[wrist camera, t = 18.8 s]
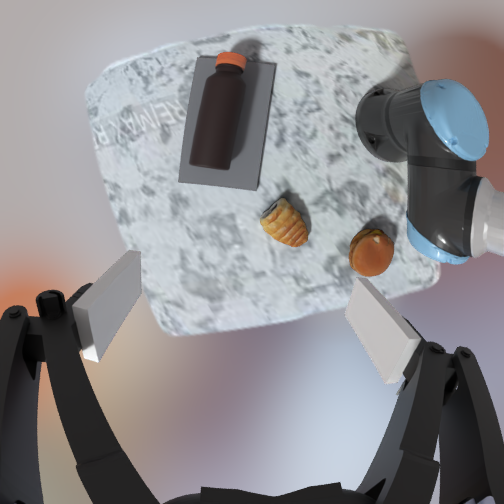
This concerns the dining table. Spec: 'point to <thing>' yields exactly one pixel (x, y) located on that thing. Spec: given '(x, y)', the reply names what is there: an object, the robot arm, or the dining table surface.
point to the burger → (371, 252)
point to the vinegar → (219, 114)
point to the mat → (248, 131)
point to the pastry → (284, 224)
